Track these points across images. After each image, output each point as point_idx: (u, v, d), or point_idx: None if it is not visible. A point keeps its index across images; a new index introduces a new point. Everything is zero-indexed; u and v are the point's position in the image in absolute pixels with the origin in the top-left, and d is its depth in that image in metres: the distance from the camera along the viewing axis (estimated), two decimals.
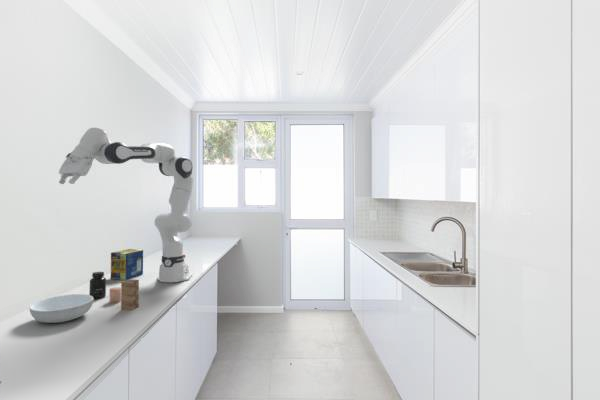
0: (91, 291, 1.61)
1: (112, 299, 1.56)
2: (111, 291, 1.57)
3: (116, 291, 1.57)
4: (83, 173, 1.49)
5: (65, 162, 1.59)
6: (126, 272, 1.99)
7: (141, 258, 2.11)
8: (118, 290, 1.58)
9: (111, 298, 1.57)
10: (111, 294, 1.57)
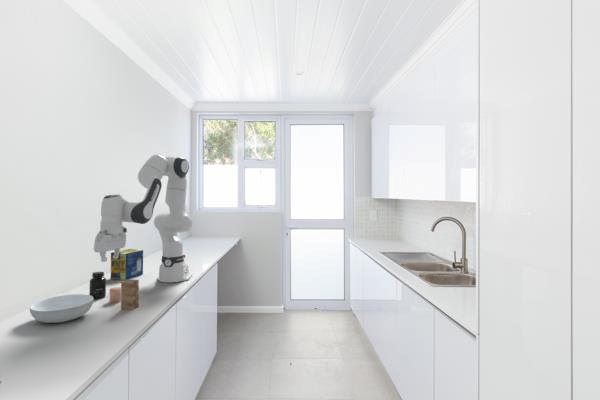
0: (91, 291, 1.61)
1: (112, 299, 1.56)
2: (111, 291, 1.57)
3: (116, 291, 1.57)
4: (98, 251, 1.47)
5: None
6: (126, 272, 1.99)
7: (141, 258, 2.11)
8: (118, 290, 1.58)
9: (111, 298, 1.57)
10: (111, 294, 1.57)
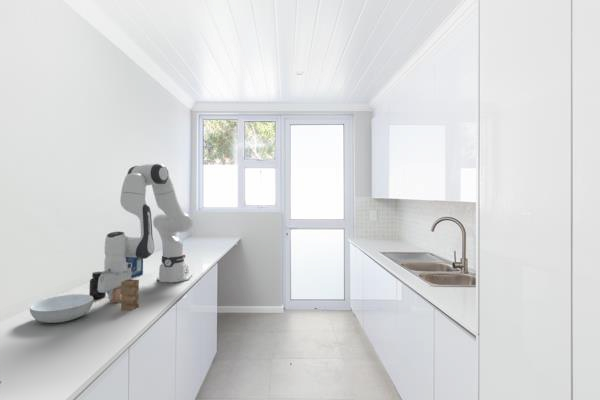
0: (91, 291, 1.61)
1: (112, 299, 1.56)
2: None
3: (116, 291, 1.57)
4: (102, 291, 1.49)
5: None
6: None
7: (141, 258, 2.11)
8: (118, 290, 1.58)
9: None
10: None
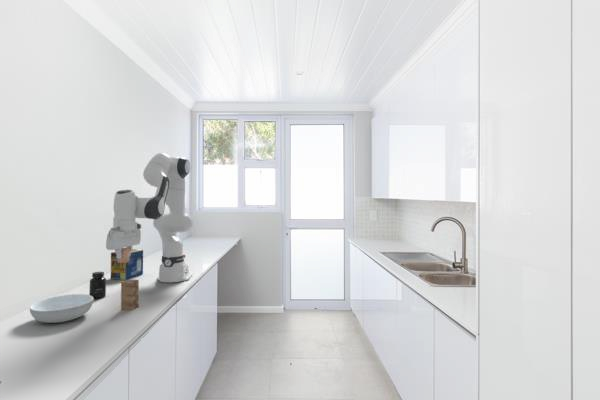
0: (91, 291, 1.61)
1: (121, 259, 1.50)
2: None
3: (125, 251, 1.51)
4: (110, 248, 1.43)
5: None
6: (126, 272, 1.99)
7: (141, 258, 2.11)
8: (127, 250, 1.51)
9: None
10: None
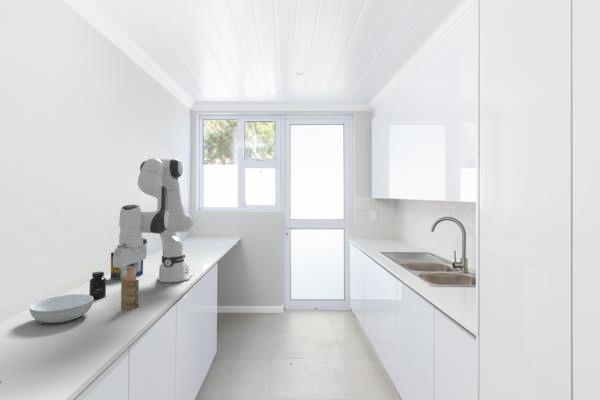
0: (91, 291, 1.61)
1: (128, 278, 1.48)
2: (126, 269, 1.48)
3: (131, 270, 1.48)
4: (117, 266, 1.40)
5: None
6: None
7: None
8: (133, 269, 1.49)
9: (126, 277, 1.48)
10: None
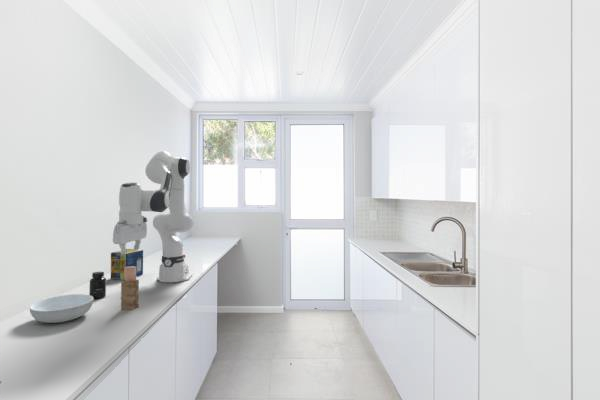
0: (91, 291, 1.61)
1: (128, 278, 1.48)
2: (126, 269, 1.48)
3: (131, 270, 1.48)
4: (117, 243, 1.40)
5: None
6: None
7: (141, 258, 2.11)
8: (133, 269, 1.49)
9: (126, 277, 1.48)
10: (126, 273, 1.48)
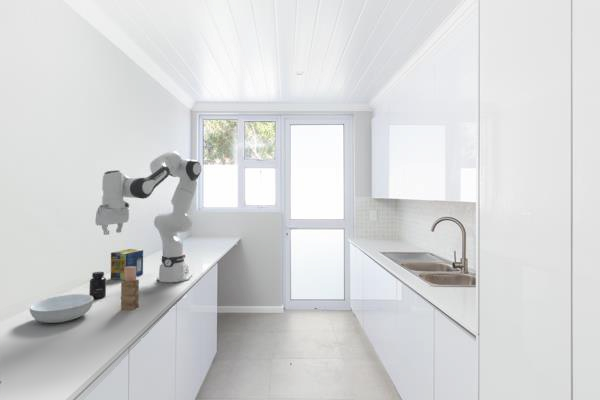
0: (91, 291, 1.61)
1: (128, 278, 1.47)
2: (126, 269, 1.47)
3: (131, 270, 1.48)
4: (99, 224, 1.53)
5: None
6: None
7: (141, 258, 2.11)
8: (133, 269, 1.49)
9: (126, 277, 1.48)
10: (126, 273, 1.48)
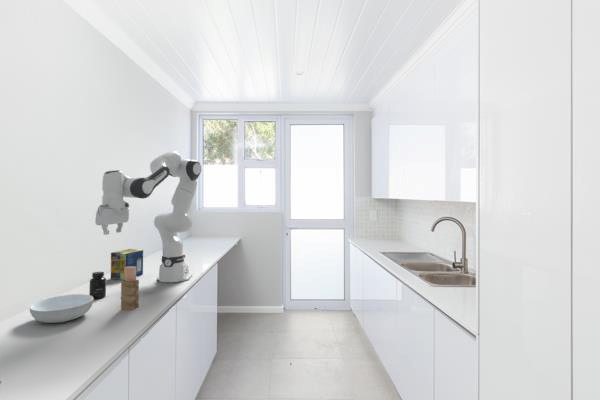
0: (91, 291, 1.61)
1: (128, 278, 1.47)
2: (126, 269, 1.48)
3: (131, 270, 1.48)
4: (99, 224, 1.53)
5: None
6: None
7: (141, 258, 2.11)
8: (133, 269, 1.49)
9: (126, 277, 1.48)
10: (126, 273, 1.48)
